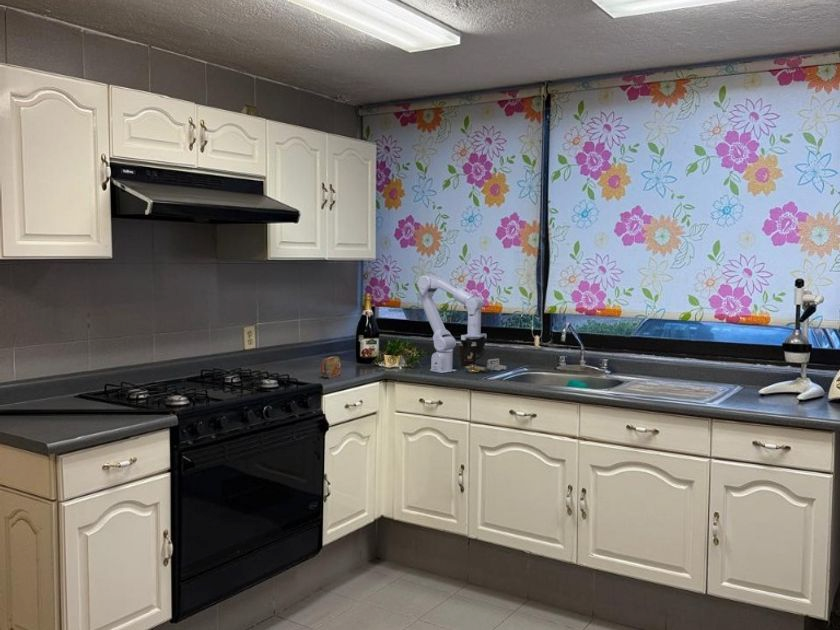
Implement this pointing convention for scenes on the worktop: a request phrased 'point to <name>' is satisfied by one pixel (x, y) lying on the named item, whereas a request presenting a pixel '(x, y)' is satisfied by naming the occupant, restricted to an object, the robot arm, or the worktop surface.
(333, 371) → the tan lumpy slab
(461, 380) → the worktop surface
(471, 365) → the cam
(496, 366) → the stand
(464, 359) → the coffee mug
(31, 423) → the worktop surface
